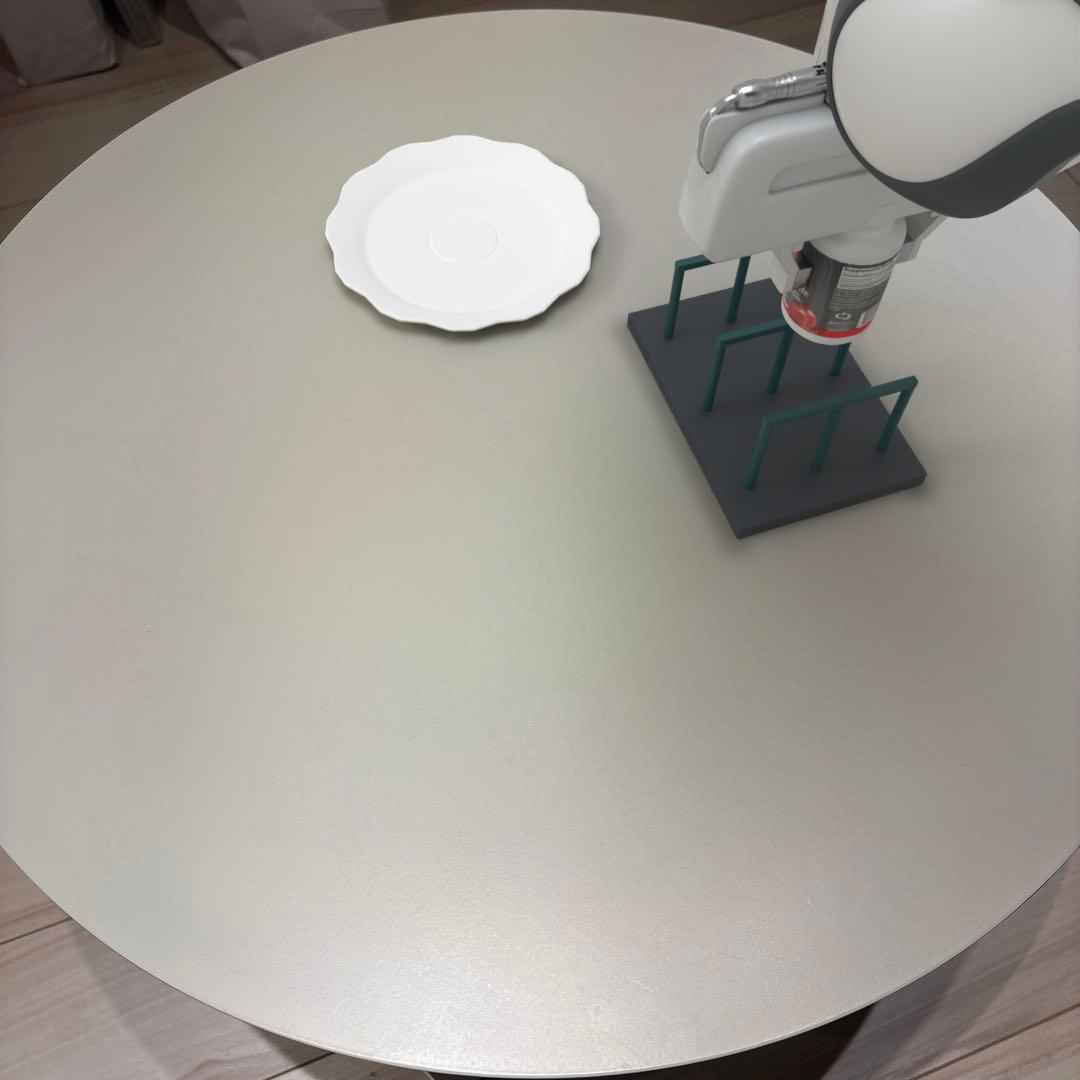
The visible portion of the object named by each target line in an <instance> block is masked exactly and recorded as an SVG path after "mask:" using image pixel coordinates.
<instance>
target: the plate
mask: <svg viewBox="0 0 1080 1080" xmlns="http://www.w3.org/2000/svg"><path fill="white" fill-rule="evenodd" d="M324 233H325V234H324V236H325V239H326V241H327V243H328V245H329V247H330V248H331V249H330V250H332V254H333V263H334V265H333V266H334V271H335V274H336V275H337V276H338V278H339V279H340V281H341V283H342V284H343V285H344V286H345V287H347V288H348V289H350V290H352V291H353V292H355V293H357V294H359V295H360V296H362V297H364V298H365V299H366V300H367V301H368V302H369V303H370V304H371V305H372V306H373V308H375V309H376V311H378V312H379V314H382V315H384V316H387V317H389V318H391V319H393V320H396V321H398V322H402V323H414V324H424V325H429V326H431V327H435V328H438V329H442V330H445V331H447V332H476V331H479V330H482V329H485V328H488V327H492V326H494V325H495V326H496V325H498V324H505V323H506V324H507V323H515V322H524V321H527V320H530V319H531V318H534V317H536V316H538V315H541V314H542V313H545V312H546V311H547V310H548V309H549V307H550V306H552V305H553V304H554V303H555V301H556V300H557V299H558V298H559V297H561V296H562V295H564V294H566V293H568V292H570V291H571V290H573V289H574V288H576V287H578V286H580V284H581V283H582V282H583V280H584V279H585V277H586V276H587V275H588V273H589V272H590V271H591V270H590V269H591V260H592V253H593V250H594V249H595V246H596V244H597V242H598V241H599V238H600V236H601V225H600V217H599V216H598V214H597V213H596V211H595V210H594V209H593V207H592V205H591V204H590V202H589V199H588V194H587V192H586V188H585V185H584V183H582V181H581V180H580V179H579V178H578V177H577V176H576V175H575V174H574V173H573V172H572V171H569V170H568V169H566V168H564V167H562V166H560V165H558V164H556V163H554V162H553V161H551V159H549V158H548V157H547V156H546V155H544V154H543V153H542V152H541V151H540V150H538V149H536V148H533V147H531V146H528V145H525V144H523V143H518V142H509V141H506V142H505V141H497V140H493V139H489V138H486V137H483V136H478V135H471V134H470V135H469V134H468V135H467V134H466V135H465V134H464V135H462V134H461V135H460V134H459V135H457V134H455V135H450V136H447V137H443V138H440V139H436V140H432V141H423V142H411V143H409V142H408V143H406V144H403V145H401V146H398V147H395V148H393V149H390V150H389V151H387V152H386V153H385V154H384V155H382V156H381V157H380V158H379V159H378V160H377V161H376V162H374V163H373V164H371V165H369V166H366V167H365V168H363V169H361V170H359V171H356V172H354V173H353V174H352V175H351V177H350V178H349V179H348V180H346V181H345V183H344V184H343V185H342V187H341V191H340V194H339V197H338V201H337V204H336V205H335V206H334V208H333V210H332V211H331V213H330V214H329V215H328V216H327V218H326V223H325V232H324Z"/></svg>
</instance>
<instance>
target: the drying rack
mask: <svg viewBox="0 0 1080 1080" xmlns="http://www.w3.org/2000/svg"><path fill="white" fill-rule="evenodd" d="M751 259H752V255H750V256H746V257H742V258H739V261H738V266H737V269H736V270H737V271H736V275H735V279H734V284H733V286H732V287H728V288H725V289H719V290H716V291H712V292H708V293H704V294H701V295H697V296H692V297H688V298H684V299H681V294H682V289H683V284H684V278H685V272H687V271H691V270H695V269H699V268H703V267H707V266H712V265H714V264H716V263H713V262H711V261H710V260H709V259H707V258H706V257H705V256H704V255H703V254H702V253H701V254H698V255H693V256H689V257H685V258H682V259H677V260H675V261H674V271H673V276H672V283H671V289H670V294H669V301H668V303H664V304H660V305H655V306H652V307H648V308H644V309H641V310H637V311H632V312H629V313H628V314H627V322H626V324H627V327H628V329H629V331H630V333H631V334H632V337H633V339H634V341H635V343H636V344H637V346H638V348H639V350H640V352H641V354H642V356H643V358H644V360H645V362H646V364H647V366H648V367H649V370H650V371H651V374H652V375H653V378H654V380H655V381H656V383H657V385H658V387H659V389H660V390H661V393H662V395H663V397H664V399H665V401H666V402H667V404H668V406H669V409H670V410H671V412H672V414H673V417H674V418H675V420H676V422H677V424H678V426H679V428H680V430H681V432H682V434H683V436H684V438H685V440H686V441H687V444H688V445H689V447H690V449H691V452H692V453H693V455H694V457H695V459H696V461H697V463H698V465H699V467H700V469H701V470H702V473H703V475H704V477H705V478H706V480H707V482H708V484H709V486H710V488H711V490H712V492H713V494H714V496H715V498H716V500H717V502H718V504H719V505H720V507H721V510H722V511H723V514H724V516H725V517H726V519H727V521H728V523H729V525H730V527H731V529H732V531H733V533H734V535H735V537H736V539H741V538H745V537H749V536H752V535H755V534H758V533H761V532H765V531H768V530H772V529H775V528H778V527H782V526H785V525H788V524H792V523H795V522H796V523H797V522H799V521H803V520H805V519H809V518H813V517H815V516H819V515H822V514H826V513H830V512H832V511H835V510H839V509H843V508H846V507H849V506H852V505H856V504H860V503H864V502H866V501H870V500H873V499H876V498H879V497H883V496H886V495H890V494H893V493H896V492H900V491H903V490H907V489H909V488H913V487H917V486H920V485H923V484H924V482H925V480H926V479H927V477H928V472H927V471H926V469H925V467H924V466H923V464H922V463H921V462H920V460H919V458H918V456H917V455H916V453H915V452H914V450H913V449H912V447H911V445H910V444H909V442H908V441H907V439H906V438H905V436H904V434H903V433H902V431H901V430H900V427H898V425H899V423H900V421H901V419H902V417H903V415H904V413H905V410H906V408H907V406H908V404H909V403H910V400H911V398H912V395H913V393H914V391H915V389H916V388H917V386H918V385H919V380H918V378H917V376H915V375H910V376H906V377H902V378H899V379H896V380H893V381H892V380H891V381H889V382H885V383H881V384H878V385H874V386H872V384H871V383H870V380H869V379H868V378H867V377H866V374H865V373H864V372H863V370H862V368H861V367H860V366H859V364H858V362H857V361H856V359H855V357H854V356H853V355H852V353H851V351H850V348H851V344H852V342H848V343H845V344H840V345H826V344H820V343H816V342H813V341H810V340H808V339H806V338H804V337H803V336H801V335H800V334H798V333H797V332H796V331H795V330H793V329H792V328H791V327H790V325H789V324H788V323H787V321H786V320H785V318H784V315H783V313H782V307H781V303H782V297H783V294H782V293H780V292H779V291H778V289H777V288H776V286H775V284H774V283H773V281H772V279H771V277H768V278H764V279H760V280H756V281H753V282H747V283H746V280H747V275H748V271H749V266H750V262H751ZM680 299H681V300H680ZM897 393H899V395H898V398H897V399H896V402H895V404H894V405H893V409H892V410H891V412H889V411H888V410H887V408H886V406H885V404H884V403H883V401H882V400H881V398H884V397H886V396H890V395H894V394H897Z"/></svg>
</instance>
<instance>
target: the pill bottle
mask: <svg viewBox="0 0 1080 1080" xmlns="http://www.w3.org/2000/svg"><path fill="white" fill-rule="evenodd" d="M896 208H897V204H892V205H888V206H884V207H880V208H877V209H876V210H875V211H874V212H873V215H872V218H871V220H870V221H869V222H868V223H866V224H865V227H861V228H858V229H854V230H850V231H846V232H842V233H838V234H834V235H830V236H826V237H822V238H818V239H814V240H810V241H806V242H804V245H803V248H802V249H801V250H802V252H803V254H804V255H803V257H804V258H806V259H807V260H808V261H809V262H810V264H811V265H812V267H813V269H812V273H811V276H810V277H809V278H808V279H807V281H808V282H809V283H808V285H807V287H804V288H801V289H797V290H793V291H790V292H787V293H783V297H782V303H781V307H782V313H783V315H784V318H785V320H786V321H787V323H788V324H789V325H790V327H791V328H792V329H793V330H795V331H796V332H797V333H798V334H800V335H801V336H803V337H804V338H806V339H808V340H810V341H813V342H816V343H820V344H826V345H840V344H845V343H848V342H851V343H852V342H855V341H857V340H859V339H860V338H861V337H863V336H864V334H866V333H867V332H868V330H869V329H870V327H871V325H872V323H873V321H874V318H875V316H876V314H877V312H878V309H879V307H880V304H881V301H882V299H883V297H884V294H885V292H886V288H887V287H888V284H889V280H890V278H891V276H892V273H893V271H894V268H895V266H896V264H895V263H896V261H897V258H898V256H899V253H900V251H901V248H902V246H903V243H904V240H905V236H906V221H905V218H904V217H902V218H898V219H894V218H895V211H896Z"/></svg>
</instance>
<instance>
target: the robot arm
mask: <svg viewBox="0 0 1080 1080" xmlns="http://www.w3.org/2000/svg"><path fill="white" fill-rule="evenodd" d="M1079 163H1080V0H826V4H825V7H824V12H823V15H822V19H821V23H820V27H819V31H818V35H817V39H816V43H815V48H814V51H813V54H812V60H811V66H807V67H803V68H798V69H794V70H790V71H787V72H784V73H782V74H780V75H776V76H772V77H767V78H762V77H761V78H760V77H759V78H753V79H748V80H744V81H742V82H740V83H738V84H735V85H734V86H733V88H732V90H731V93H730V94H728V95H726V96H724V97H722V98H721V99H719V100H718V101H717V102H716V103H715V104H714V105H713V106H712V107H709V108H707V109H706V110H705V111H704V113H703V114H702V116H701V118H700V121H699V124H698V131H697V136H696V142H695V148H694V151H693V153H692V156H691V159H690V163H689V166H688V169H687V172H686V176H685V179H684V182H683V186H682V187H683V188H682V191H681V193H680V194H681V195H680V198H679V205H678V214H679V215H678V216H679V219H680V221H681V223H682V226H683V228H684V230H685V232H686V235H688V237H689V239H690V240H691V242H692V243H693V245H694V247H696V249H697V250H698V251H699V252H700V253H701V254H703V255H704V256H705V257H706V258H707V259H709V260H710V261H711V262H713V263H715V264H721V263H726V262H730V261H733V260H739V259H740V258H742V257H746V256H750V255H751V256H753V255H758V254H761V253H766V252H770V251H772V253H773V256H772V259H771V263H770V268H769V277H770V278H771V279H772V281H773V283H774V284H775V286H776V288H777V289H778V291H779V292H780V293H782V294H783V293H787V292H790V291H793V290H797V289H801V288H804V287H807V285H808V283H809V282H808V281H807V279H808V278H809V277H810V276H811V273H812V269H813V267H812V265H811V264H810V262H809V261H808V260H807V259H806V258H804V257H803V255H804V254H803V252H802V250H801V249H802V248H803V245H804V242H806V241H810V240H814V239H818V238H822V237H826V236H830V235H834V234H838V233H842V232H846V231H850V230H854V229H858V228H861V227H865V224H866V223H868V222H869V221H870V220H871V218H872V215H873V212H874V211H875V210H876V209H877V208H880V207H884V206H888V205H892V204H897V208H896V211H895V218H894V219H898V218H902V217H904V218H905V221H906V236H905V240H904V243H903V246H902V248H901V251H900V253H899V256H898V258H897V261H896V263H895V265H899V264H902V263H906V262H910V261H914V260H915V259H916V257H917V255H918V252H919V251H920V248H921V246H922V244H923V242H924V241H923V240H926V239H927V238H928V237H929V236H930V235H931V234H932V233H933V232H934V231H935V230H936V229H937V228H938V227H939V226H940V225H941V224H942V223H944V222H945V220H946V219H948V218H954V219H960V220H961V219H963V220H966V219H967V220H970V219H977V218H978V219H979V218H982V217H986V216H990V215H991V214H994V213H996V212H998V211H1000V210H1002V209H1003V208H1005V207H1007V206H1009V205H1010V204H1012V203H1014V202H1016V201H1017V200H1019V199H1021V198H1023V197H1024V196H1026V195H1028V194H1030V193H1031V192H1033V191H1034V190H1036V189H1038V188H1040V187H1041V186H1043V185H1044V184H1046V183H1048V182H1049V181H1050V180H1051V179H1052V178H1053V177H1054V176H1055V175H1057V174H1059V173H1061V172H1063V171H1066V170H1067V169H1069V168H1071V167H1074V166H1075V165H1077V164H1079Z"/></svg>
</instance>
